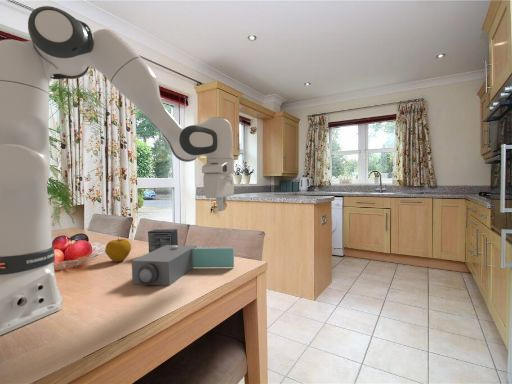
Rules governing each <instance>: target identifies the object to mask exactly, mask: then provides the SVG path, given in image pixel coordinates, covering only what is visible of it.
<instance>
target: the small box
mask: <svg viewBox="0 0 512 384" xmlns="http://www.w3.org/2000/svg"><path fill="white" fill-rule="evenodd" d="M147 236H148V238H147V239H148V253H150V252H152V251H154V250H156V249H158V248H161V247H163V246H165V245H179V241H178V239H179V238H178V237H179V236H178V229H177V228H171V229H170V228H168V229H167V228H166V229H165V228H164V229H163V228H162V229H161V228H160V229H151V230H149V231H147Z"/></svg>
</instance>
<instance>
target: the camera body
mask: <svg viewBox="0 0 512 384" xmlns="http://www.w3.org/2000/svg"><path fill="white" fill-rule="evenodd" d="M192 248H198V247H197V245H182V244H178V245H165V246H163V247H161V248H158V249H156V250H154V251H152V252H150V253H149V252H148V253H144V254H142V255H141V256H139V257H136V258H135V259H132V260H131V276H132V277H131V278H132V280H131V281H132V284H133V285H145V286H150V285H152V286H168V287H169V286H171V285H173V284H174V283H175V282H176V281H178V280H179V279H180V278H182V277H183V276H184V275H186V274H187V273H188V272H190V271H191V270H192V269H194V268H193V261H192Z"/></svg>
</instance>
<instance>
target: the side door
mask: <svg viewBox="0 0 512 384" xmlns="http://www.w3.org/2000/svg"><path fill="white" fill-rule="evenodd" d="M192 261H193V268H192V269H195V268H196V269H197V268H198V269H199V268H204V269H205V268H235V248H234V247H197V248H192Z"/></svg>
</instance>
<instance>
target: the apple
mask: <svg viewBox="0 0 512 384" xmlns="http://www.w3.org/2000/svg"><path fill="white" fill-rule="evenodd" d="M131 250H132V245H131V243H130V241H129V240H128V239H126V238H118V239H113V240H110V241H109V242H107V244H106V246H105V249H104V251H105V253H106V255H107V257H108V258H109V259H110V260H111V261H112V262H115V263H117V262H118V263H119V262H123V261H125V259H127V257H128V256H129V254H130V252H131Z"/></svg>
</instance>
